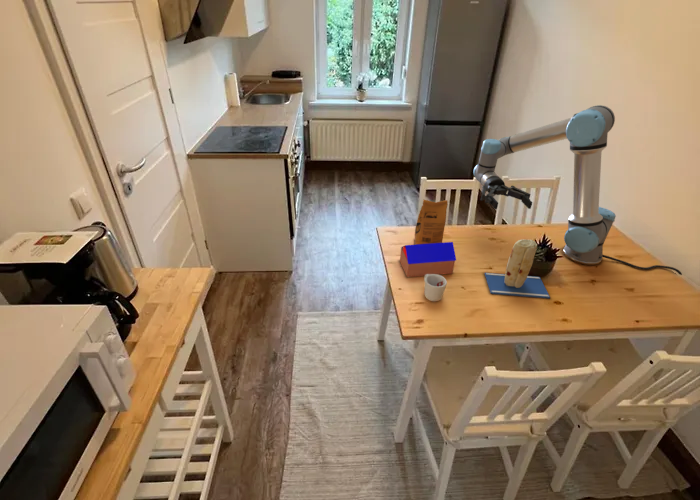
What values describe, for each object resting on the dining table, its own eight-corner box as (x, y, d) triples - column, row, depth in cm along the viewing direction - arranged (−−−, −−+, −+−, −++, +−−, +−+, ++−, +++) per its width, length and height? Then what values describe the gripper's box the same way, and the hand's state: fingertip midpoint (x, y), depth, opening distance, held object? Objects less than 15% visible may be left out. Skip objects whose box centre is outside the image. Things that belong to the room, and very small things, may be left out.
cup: (414, 288, 149) (417, 271, 145) (432, 284, 152) (435, 267, 147) (429, 306, 141) (432, 289, 136) (447, 301, 143) (451, 284, 139)
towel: (539, 277, 157) (539, 276, 156) (549, 298, 146) (550, 297, 145) (484, 273, 158) (484, 272, 158) (490, 293, 147) (491, 292, 147)
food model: (519, 277, 156) (533, 235, 145) (529, 287, 150) (544, 244, 139) (497, 280, 153) (510, 238, 142) (507, 291, 148) (521, 247, 137)
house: (453, 273, 158) (458, 250, 151) (406, 277, 155) (409, 253, 148) (443, 257, 168) (447, 234, 161) (398, 260, 165) (401, 237, 158)
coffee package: (413, 236, 181) (418, 194, 169) (439, 238, 181) (447, 195, 169) (414, 248, 173) (420, 204, 161) (442, 250, 172) (450, 206, 160)
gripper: (518, 191, 169) (541, 214, 151) (463, 191, 167) (480, 214, 150) (522, 175, 165) (547, 196, 147) (466, 175, 163) (484, 197, 145)
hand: (513, 206), depth 148 cm, fingers open, 13 cm apart
